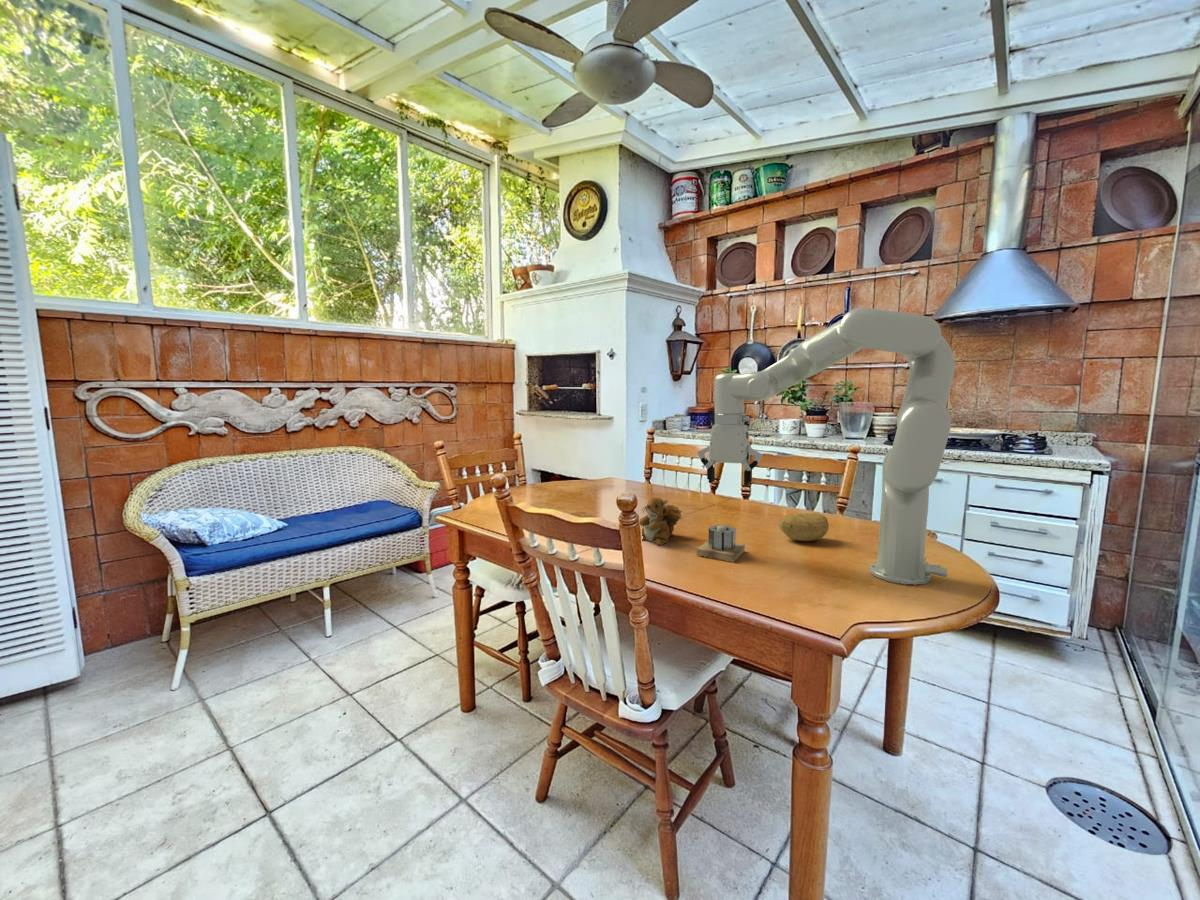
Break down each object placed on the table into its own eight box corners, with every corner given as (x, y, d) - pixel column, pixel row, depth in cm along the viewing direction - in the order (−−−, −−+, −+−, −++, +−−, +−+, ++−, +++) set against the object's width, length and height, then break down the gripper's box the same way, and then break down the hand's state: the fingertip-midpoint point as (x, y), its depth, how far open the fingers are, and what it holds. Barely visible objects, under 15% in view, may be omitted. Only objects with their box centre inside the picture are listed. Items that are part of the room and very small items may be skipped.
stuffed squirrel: (630, 540, 153) (630, 496, 151) (661, 530, 162) (661, 489, 161) (655, 547, 146) (655, 502, 144) (686, 537, 155) (686, 494, 153)
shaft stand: (744, 551, 141) (745, 525, 140) (733, 562, 133) (734, 534, 132) (709, 545, 147) (710, 520, 146) (696, 555, 138) (697, 528, 137)
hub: (737, 545, 140) (738, 527, 140) (730, 552, 135) (730, 533, 134) (714, 541, 144) (714, 524, 143) (705, 548, 138) (705, 530, 138)
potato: (773, 535, 155) (774, 509, 154) (820, 535, 155) (821, 509, 154) (783, 545, 146) (784, 518, 145) (834, 545, 145) (835, 518, 144)
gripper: (765, 419, 135) (765, 483, 137) (702, 419, 144) (702, 479, 146) (758, 421, 128) (758, 488, 130) (693, 421, 137) (693, 483, 139)
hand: (729, 483), depth 138 cm, fingers open, 9 cm apart
